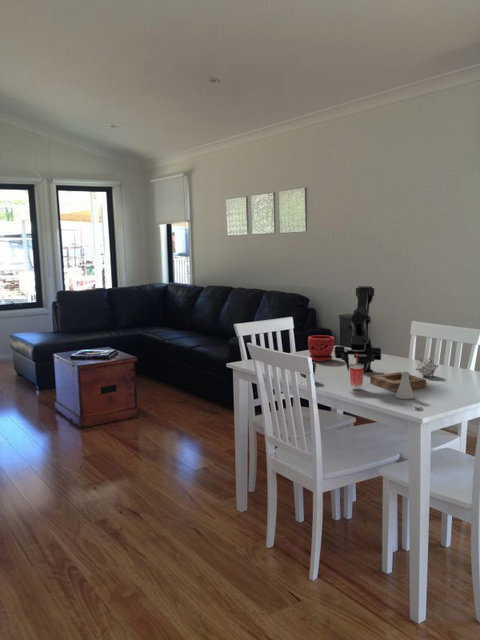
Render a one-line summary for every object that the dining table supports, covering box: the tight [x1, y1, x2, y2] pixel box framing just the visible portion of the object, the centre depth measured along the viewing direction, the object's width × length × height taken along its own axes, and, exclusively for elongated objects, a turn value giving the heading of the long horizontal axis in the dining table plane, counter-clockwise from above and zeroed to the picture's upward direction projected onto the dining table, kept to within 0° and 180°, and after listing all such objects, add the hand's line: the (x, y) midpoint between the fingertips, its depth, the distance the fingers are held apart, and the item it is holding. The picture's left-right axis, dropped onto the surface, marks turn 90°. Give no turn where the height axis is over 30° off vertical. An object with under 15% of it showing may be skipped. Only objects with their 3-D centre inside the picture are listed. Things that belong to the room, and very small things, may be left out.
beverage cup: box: [349, 353, 364, 389], centre depth 235 cm, size 6×6×14 cm
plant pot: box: [307, 334, 335, 362], centre depth 294 cm, size 13×13×12 cm
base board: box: [369, 371, 427, 393], centre depth 241 cm, size 16×16×3 cm
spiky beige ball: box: [415, 357, 439, 378], centre depth 255 cm, size 9×8×10 cm
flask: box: [395, 370, 415, 400], centre depth 223 cm, size 7×7×10 cm
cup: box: [299, 362, 317, 378], centre depth 251 cm, size 8×7×8 cm
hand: (356, 370), depth 234 cm, fingers closed on beverage cup, 6 cm apart
